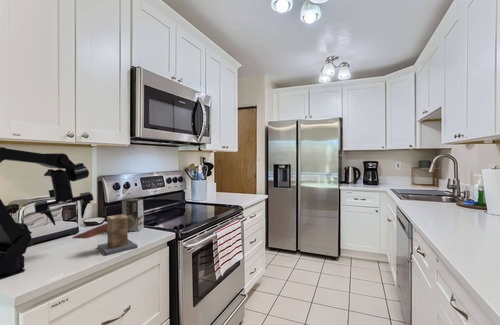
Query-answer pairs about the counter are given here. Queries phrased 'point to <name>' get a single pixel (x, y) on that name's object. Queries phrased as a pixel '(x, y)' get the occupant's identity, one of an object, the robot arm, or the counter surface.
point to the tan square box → (117, 231)
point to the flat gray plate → (109, 250)
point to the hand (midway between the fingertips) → (68, 221)
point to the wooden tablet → (92, 232)
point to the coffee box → (134, 213)
